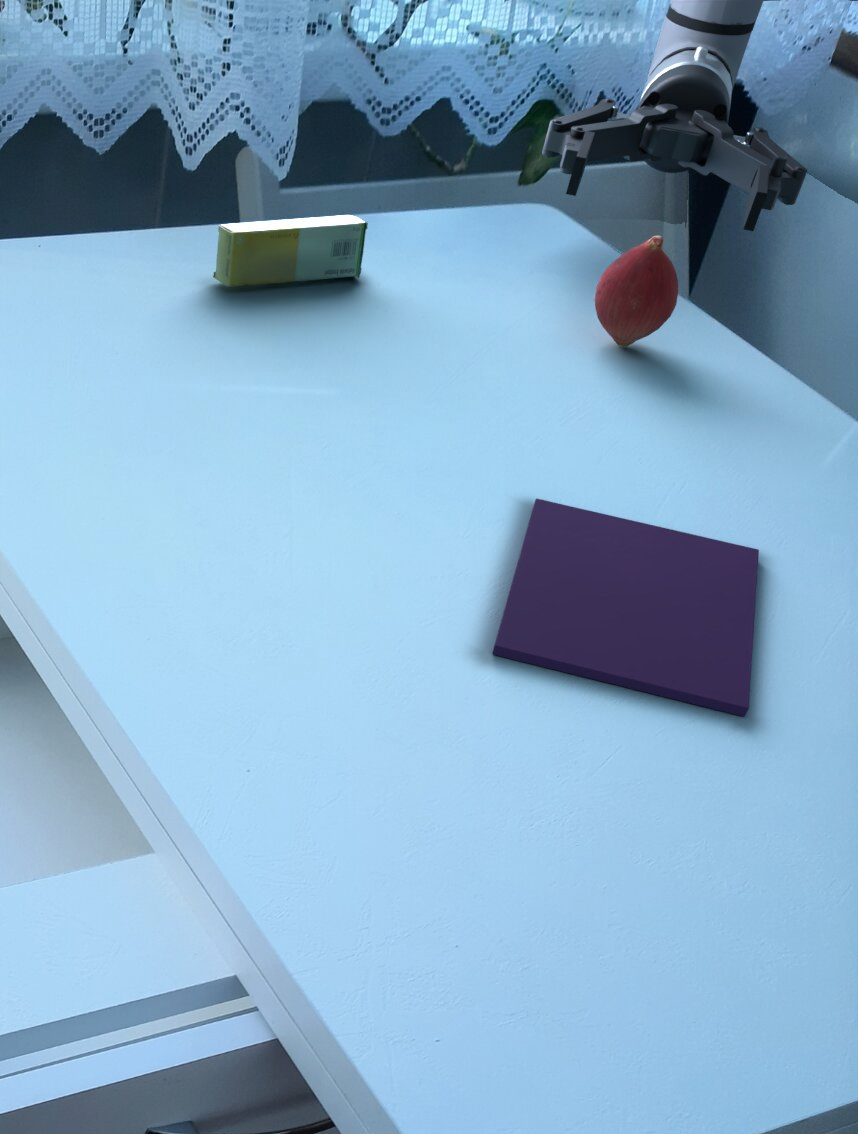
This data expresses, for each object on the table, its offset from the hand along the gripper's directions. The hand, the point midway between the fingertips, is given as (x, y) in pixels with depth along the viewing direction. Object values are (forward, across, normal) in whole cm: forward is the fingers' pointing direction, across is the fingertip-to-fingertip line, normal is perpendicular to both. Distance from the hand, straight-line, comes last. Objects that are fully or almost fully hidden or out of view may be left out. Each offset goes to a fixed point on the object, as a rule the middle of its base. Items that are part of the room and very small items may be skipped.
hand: (664, 194), depth 116 cm
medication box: (+10, -26, +8) cm, 29 cm away
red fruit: (+9, 0, +8) cm, 12 cm away
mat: (+46, +4, +8) cm, 47 cm away
